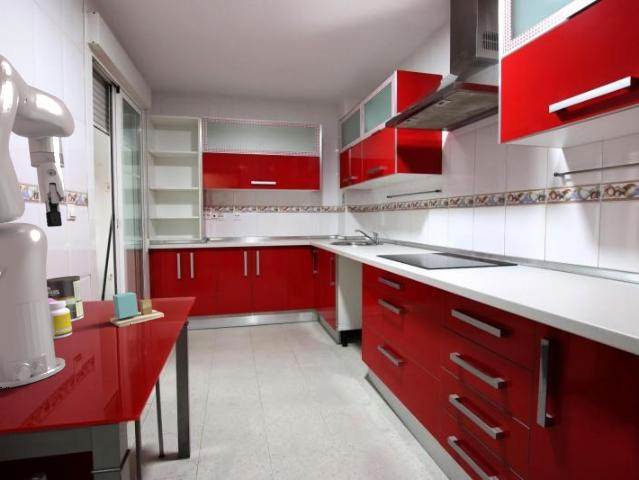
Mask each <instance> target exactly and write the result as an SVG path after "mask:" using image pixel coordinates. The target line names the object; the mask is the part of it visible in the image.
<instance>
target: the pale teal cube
mask: <svg viewBox="0 0 639 480" xmlns="http://www.w3.org/2000/svg"><path fill="white" fill-rule="evenodd" d="M112 301H113V309H114V311H113V312H114V317H118V318H125V317H129V316H134V315H138V312H139V311H138V310H139V308H138V301H137V293H134V292H132V291H130V292H124V293H118V294H113V295H112Z"/></svg>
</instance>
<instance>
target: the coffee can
mask: <svg viewBox="0 0 639 480" xmlns="http://www.w3.org/2000/svg"><path fill="white" fill-rule="evenodd" d="M80 279H81V276H79V275H70V276H69V275H68V276H60V277H58V276H57V277H52V278H46V280H47V290H48V298H52V299H54V300H56V301H66V306H65V308H68V309H69V310H70V318H71V323H72V322H76V321H79V320H81V319H83V318H84V317H85V316H84V309H83V307H84V306H83V296H82V286H81V280H80Z"/></svg>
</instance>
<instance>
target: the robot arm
mask: <svg viewBox="0 0 639 480" xmlns="http://www.w3.org/2000/svg"><path fill="white" fill-rule="evenodd" d="M75 128H76V127H75V120H74V117H73V115H72V112H71V111H70V110H69V108H68V107H67V105H66V103H65V102H64V101H62V99H60V98H59V97H57V96H55V95H53V94H51V93H50V92H49V93H48V92H46V91H44V90H42V89H39V88H37V87H34V86H31V85H29V84H28V83H27V82H26V81H25V79H24V78H23V77H22V76H21V74H20V73H19V72H18V71H17V69H16V68H15V67H14V66H13V64H12V63H11V61H9V60H8V58H7V57H5V56H4V55H2V54H1V53H0V387H2V388H1V389H9V388H15V387H20V386H24V385H29V384H32V383H35V382H40V381H42V380H44V379H46V378H49V377H51V376H53V375H55V374H57V373H59V372H61V371H62V370H63V369H64V368H65V367H66V360H65V359H64V358H63V357H62V358H61V357H56V353H55V344H54V339H53V333H52V325H51V316H50V308H49V300H48V290H47V280H46V279H47V258H48V237H47V234H46V233H45V231H44V230H43V229H42V228H41V227H40V226H38V225H37V224H32V223H27V222H15V221H17V220H18V219H21V217H23V216H24V213H25V211H26V204H25V203H26V202H25V197H24V195H23V192H22V189H21V186H20V181H19V180H18V176H17V173H16V169H15V166H14V164H13V161H12V160H13V159H12V157H11V152H10V137H11V134H12V133H13V134H14V135H17V136H18V137H22V138H27V143H28V151H29V160H30V167H31V168H36V174H37V183H38V190H39V195H40V196H39V198H40V202H43V203H44V204H45V217H46V226H47V227H49V228H53V227H54V228H56V227H62V225H63V224H62V223H63V222H62V213H61V208H60V203H61V202H62V203H63V201H65V200H66V198H67V196H66V195H67V194H66V191H65V183H64V176H63V172H62V171H63V170H62V169H63V168H65V163H64V161H65V160H64V153H63V143H62V138H69V137H71V136H72V135H73V134H74V132H75ZM6 387H7V388H6ZM8 387H9V388H8Z"/></svg>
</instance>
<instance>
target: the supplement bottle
mask: <svg viewBox="0 0 639 480" xmlns="http://www.w3.org/2000/svg"><path fill="white" fill-rule="evenodd" d="M65 306H66V301H56V302H51V303H49V308H50V316H51V325H52V333H53V340H57V339H58V340H59V339H62V338H63V339H64V338H66V337H69V336H71V335H72V334H73V326H72V322H71V318H70V310H69V309H68V308H65Z"/></svg>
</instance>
